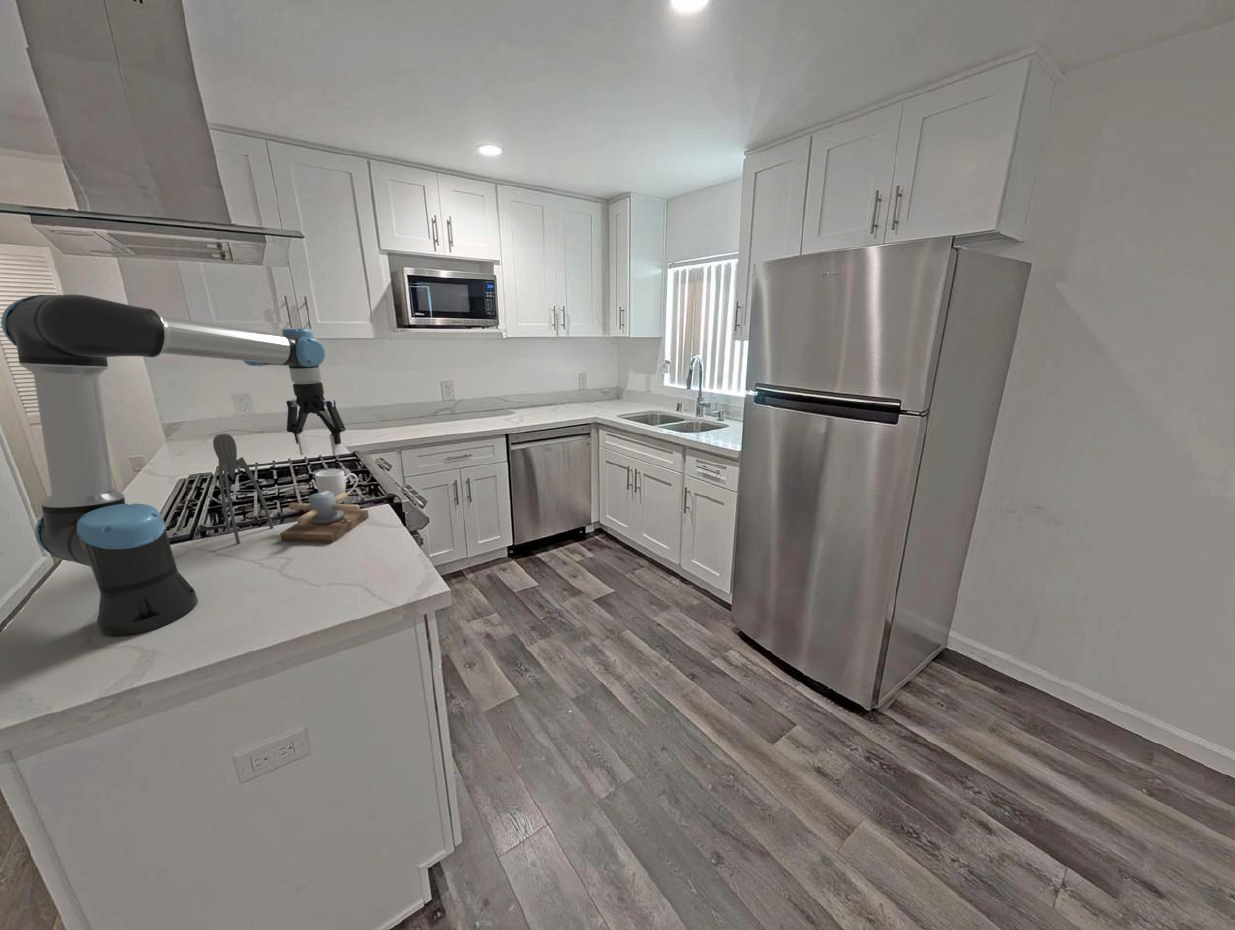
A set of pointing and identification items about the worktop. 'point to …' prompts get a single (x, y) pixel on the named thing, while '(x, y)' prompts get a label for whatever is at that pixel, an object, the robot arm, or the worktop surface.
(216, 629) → the worktop surface
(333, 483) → the mug
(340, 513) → the capstan
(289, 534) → the stand
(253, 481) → the citrus juicer
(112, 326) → the robot arm
